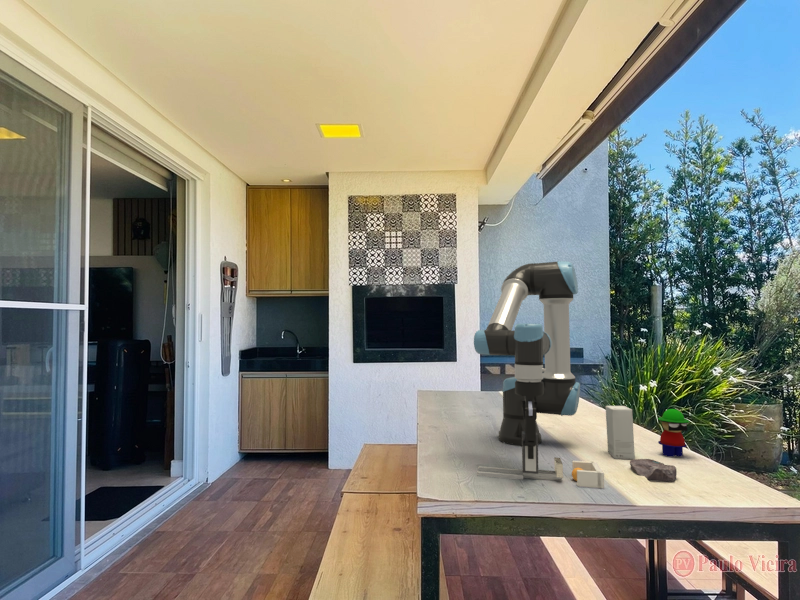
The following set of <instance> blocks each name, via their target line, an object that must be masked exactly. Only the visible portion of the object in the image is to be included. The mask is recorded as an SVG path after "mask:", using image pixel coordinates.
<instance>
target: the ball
mask: <svg viewBox="0 0 800 600" xmlns="http://www.w3.org/2000/svg"><path fill="white" fill-rule="evenodd" d="M577 470H583V469H581V468H575V469H573V468H572V471H571V477H572V479H573V480H574V481H576V482H577Z"/></svg>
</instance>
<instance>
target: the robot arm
mask: <svg viewBox="0 0 800 600" xmlns="http://www.w3.org/2000/svg"><path fill="white" fill-rule="evenodd" d="M578 287H579V285H578V279H577V274H576V268H575V267H574V264H573V263H572V262H571V261H559V260H558V261H549V262H533V263H532V262H531V263H525V264H522V265H520V266H519V267H517V268H516V269H514V270H512V271H511V272H510V273H509V274H508V275H507V276H506V277H505V279H504V280H503V282H502V285H501V288H500V292H501V294H500V296H499V299H498V302H497V303H496V306H495V309H493V313H492V315H491V318H490V319H489V323H488V325H487V327H486V328H485V329H481V330H480V329H478V330H477V331H476V332H475V333H474V336H473V348H474V350H475V352H476V353H477V354H479V355H485V356H486V355H487V356H514V376H512V377H511V376H510V377H507V378H505V379H504V380H503V382H502V391H501V392H502V412H503V413H502V421H501V426H500V430H499V431H498V440H499V441H500V442H502V443H505V444H509V445H516V446H522V431H525V432H526V442H525V443H523V446H525V471H536V432H537V434H538V445H539V444H541V443H542V435H541V433H540V429H539V426H538V423H537V417H538V416H537V415H538V414H544V415H545V414H546V415H555V416H557V415H558V416H561V417H563V416H567V417H568V416H571V417H572V416H575V414H576V413H577V412H578V407H579V403H580V402H579V401H580V396H581V383H580V382H578V381H576V376H575V375H574V374H573V373H572V372H571V344H570V343H571V342H570V341H571V338H570V333H571V331H570V303H571V302H572V301H574V295H576V294H578V292H579V288H578ZM528 296H538V300H539V301H540V303H541V304H542V305H543V325H542V324H540V323H516V320H517V316H518V314H519V311H520V309H521V305H522V302H523V301H524V300H526V298H527V297H528ZM515 323H516V325H514V324H515ZM513 327H514V330H513Z"/></svg>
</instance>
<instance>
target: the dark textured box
mask: <svg viewBox="0 0 800 600" xmlns="http://www.w3.org/2000/svg"><path fill="white" fill-rule="evenodd" d="M525 442H526V432H525V431H522V445H521V463H522V464H521V468H522V469H521V470H522V474H521V475H523V479H533V480H534V479H535V480H547V481H559V482H562V481H563V478H564V470H563V469H564V467H563V466H564V465H563V462H562V459H561V457H554V458H553V459H554V461H553V463H554V466H553V467H554V468H553V469H554V470H548V469H547V470H546V469H545V470H544V469H539V444H538V434H537V432H536V471H525V446H523V443H525Z"/></svg>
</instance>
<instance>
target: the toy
mask: <svg viewBox="0 0 800 600" xmlns="http://www.w3.org/2000/svg"><path fill="white" fill-rule="evenodd" d="M657 420H658V421H660V422H661V426H662V427H663V429H664V430H663V431H662V433H660V438H659V440H658V441H657V443H658V444H659V445H661V448H662V449H661V450H662V456H665V457H669V458H670V457H671V458H672V457H683V456H684V454H683V450H684V449H683V448H686V447H687V444H686V440H685V437H684V436H683V433H682V432H686V431H688V424H689V423H690V422H691V421H690V420H689V419H686V418H685V416H684V414H683V413H682V412H681V410H679V409H676V408H669V409H668V408H667V409H666V410H665V411H664V412H663V414H662V416H661V417H660V416H659V417H658V418H657Z"/></svg>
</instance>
